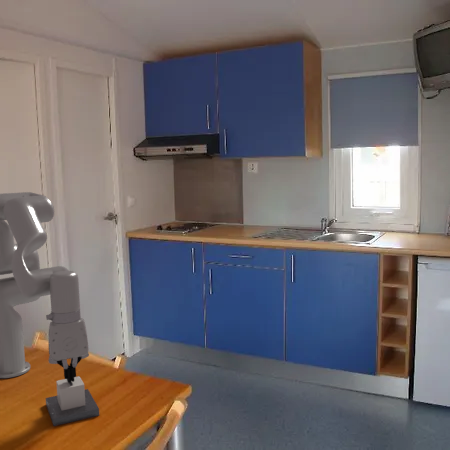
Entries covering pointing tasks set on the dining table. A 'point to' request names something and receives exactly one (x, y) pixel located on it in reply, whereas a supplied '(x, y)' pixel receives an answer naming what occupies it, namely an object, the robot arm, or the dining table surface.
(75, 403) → the knob
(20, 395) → the dining table surface
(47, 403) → the plate
